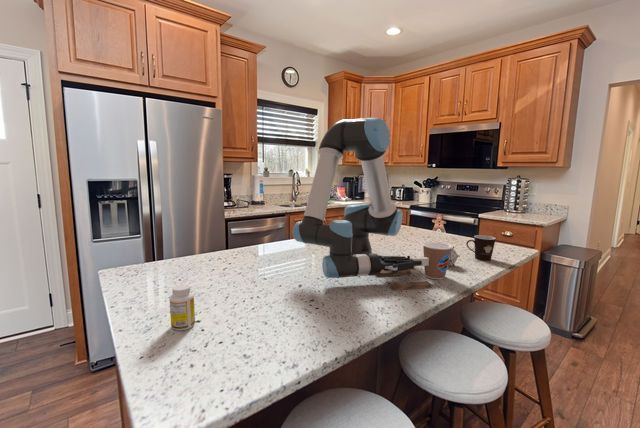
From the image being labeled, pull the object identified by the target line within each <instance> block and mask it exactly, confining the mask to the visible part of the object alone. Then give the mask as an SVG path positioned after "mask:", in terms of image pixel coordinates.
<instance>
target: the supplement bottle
mask: <svg viewBox="0 0 640 428" xmlns="http://www.w3.org/2000/svg"><path fill="white" fill-rule="evenodd" d="M171 293H172V294H171V295H170V296H169V310H170V311H169V312H170V327H171V329H173V330H174V331H178V332H179V331H186V330H190V329H191V328H192V327H194V326H195V324H196V317H195V315H196V314H195V313H196V311H195V295H194V293H193V292H191V286H190V285H189V284H178V285H175V286H173V287H172V292H171Z"/></svg>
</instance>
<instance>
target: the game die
mask: <svg viewBox="0 0 640 428" xmlns="http://www.w3.org/2000/svg"><path fill="white" fill-rule="evenodd" d="M460 257H461V255H459V254H458V253H457V252H456V250H455V246H452V248H451V251H450V256H449V261H448V266H453V267H454V268H455V267H456V265H455V264H456V261H457V260H458V258H460Z"/></svg>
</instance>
